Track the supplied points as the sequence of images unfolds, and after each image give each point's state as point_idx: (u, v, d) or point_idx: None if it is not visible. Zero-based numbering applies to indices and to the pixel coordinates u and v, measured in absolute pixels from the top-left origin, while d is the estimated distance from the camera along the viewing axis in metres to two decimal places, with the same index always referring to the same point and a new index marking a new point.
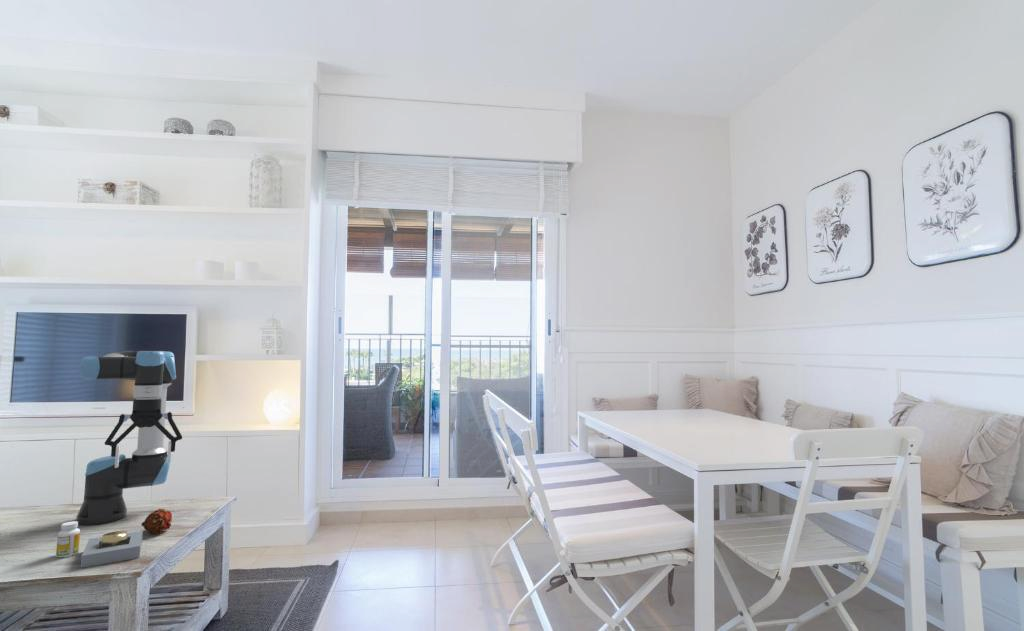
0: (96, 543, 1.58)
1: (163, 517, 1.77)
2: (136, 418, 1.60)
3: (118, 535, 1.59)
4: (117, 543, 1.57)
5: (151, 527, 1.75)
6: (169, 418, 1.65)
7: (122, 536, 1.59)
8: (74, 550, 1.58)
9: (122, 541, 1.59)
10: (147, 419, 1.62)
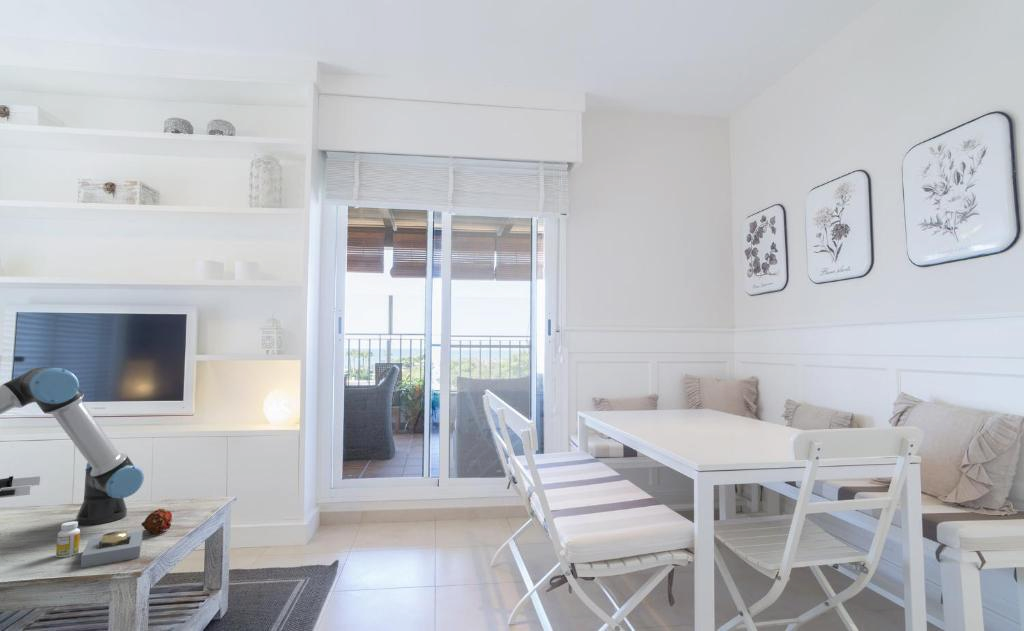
0: (96, 543, 1.58)
1: (163, 517, 1.77)
2: None
3: (118, 535, 1.59)
4: (117, 543, 1.57)
5: (151, 527, 1.75)
6: None
7: (122, 536, 1.59)
8: (74, 550, 1.58)
9: (122, 541, 1.59)
10: None
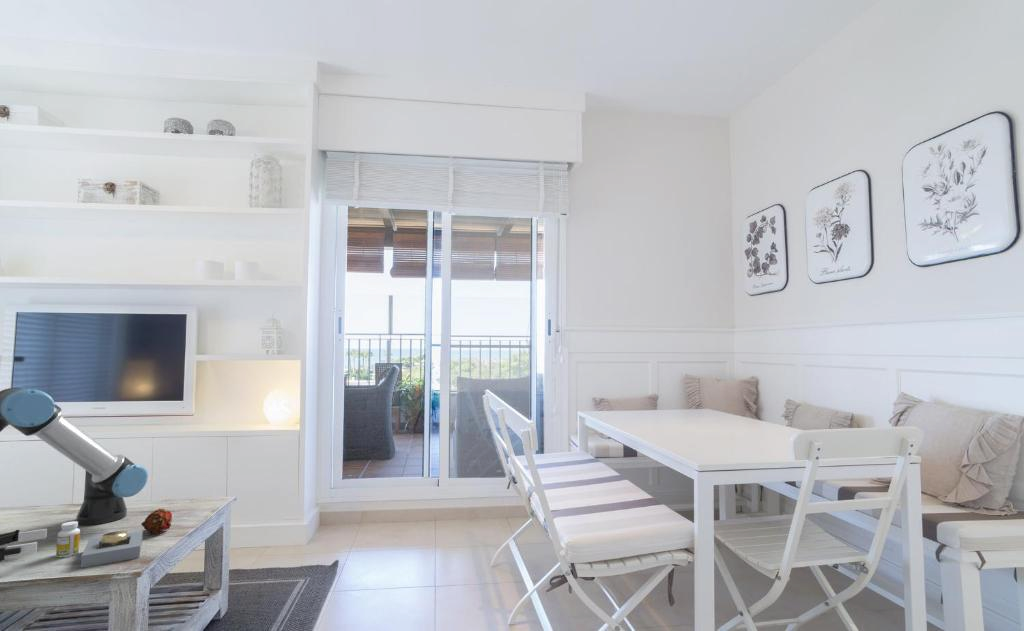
0: (96, 543, 1.58)
1: (163, 517, 1.77)
2: None
3: (118, 535, 1.59)
4: (117, 543, 1.57)
5: (151, 527, 1.75)
6: None
7: (122, 536, 1.59)
8: (74, 550, 1.58)
9: (122, 541, 1.59)
10: None
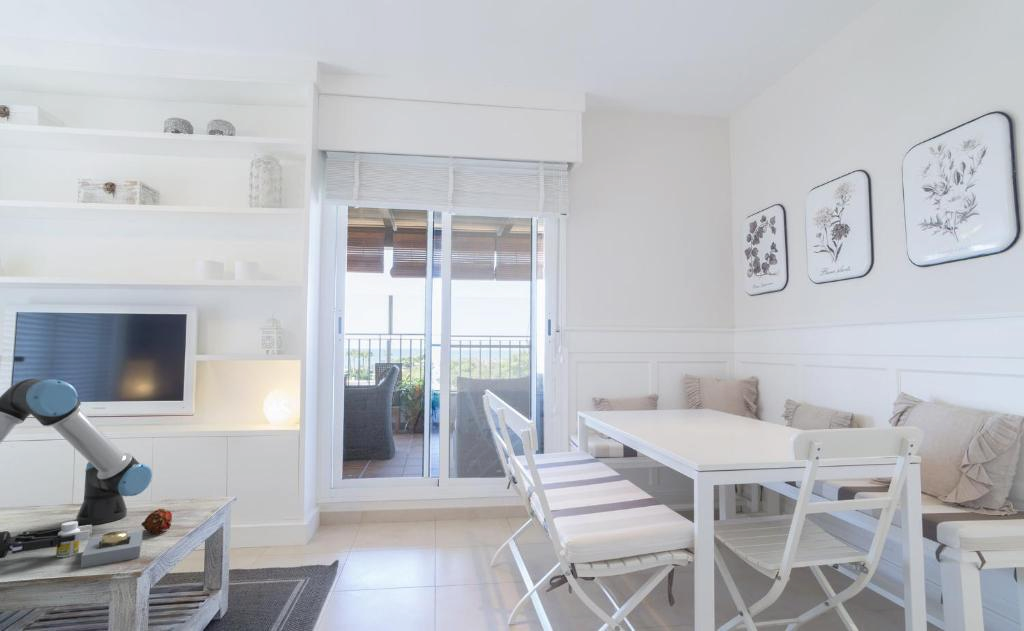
0: (96, 543, 1.58)
1: (163, 517, 1.77)
2: None
3: (118, 535, 1.59)
4: (117, 543, 1.57)
5: (151, 527, 1.75)
6: None
7: (122, 536, 1.59)
8: (74, 550, 1.58)
9: (122, 541, 1.59)
10: None
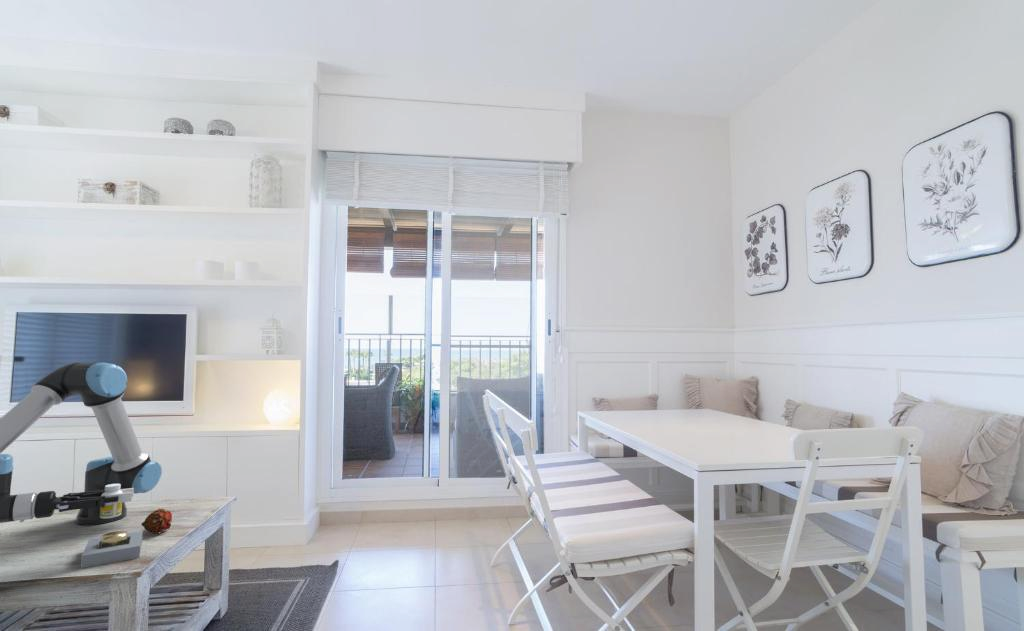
0: (96, 543, 1.58)
1: (163, 517, 1.77)
2: None
3: (118, 535, 1.59)
4: (117, 543, 1.57)
5: (151, 527, 1.75)
6: None
7: (122, 536, 1.59)
8: (117, 511, 1.59)
9: (122, 541, 1.59)
10: None
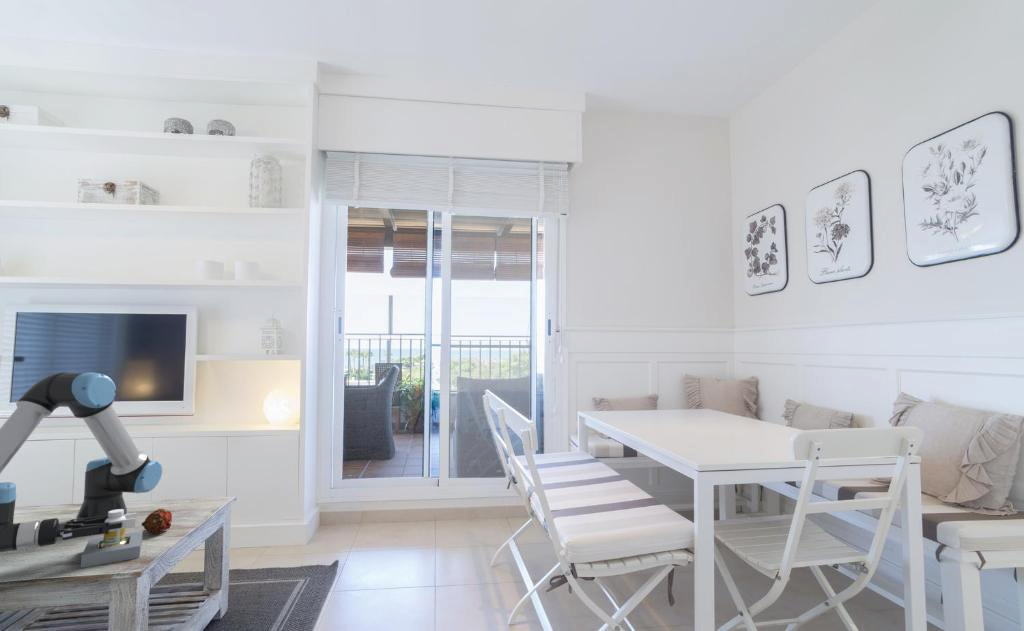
0: (96, 543, 1.58)
1: (163, 517, 1.77)
2: None
3: (117, 543, 1.58)
4: None
5: (151, 527, 1.75)
6: None
7: (121, 544, 1.58)
8: (121, 537, 1.59)
9: None
10: None
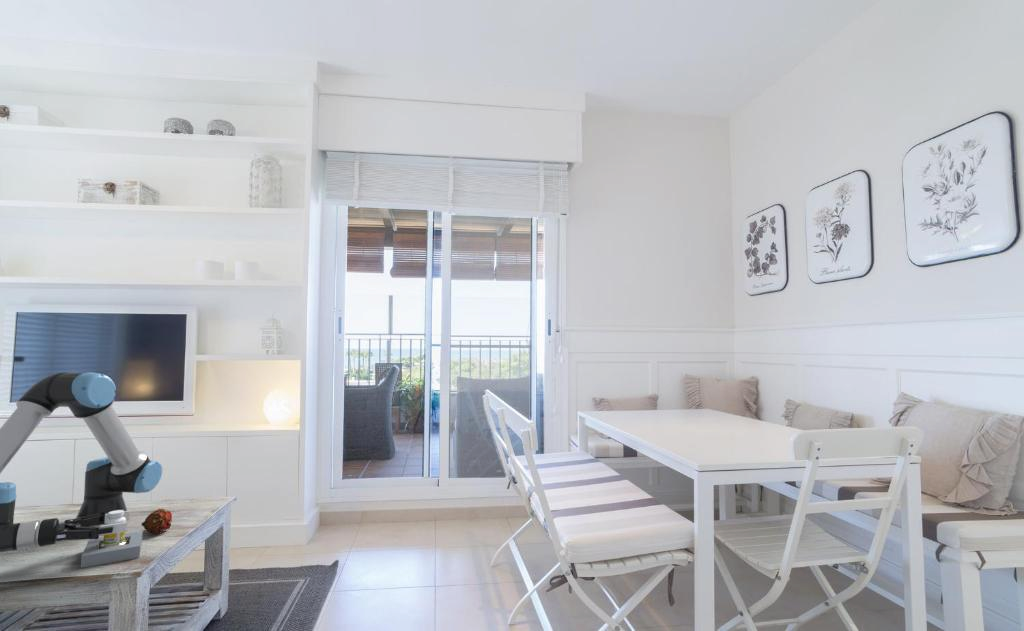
0: (96, 543, 1.58)
1: (163, 517, 1.77)
2: None
3: (117, 544, 1.58)
4: None
5: (151, 527, 1.75)
6: None
7: None
8: (121, 538, 1.59)
9: None
10: None
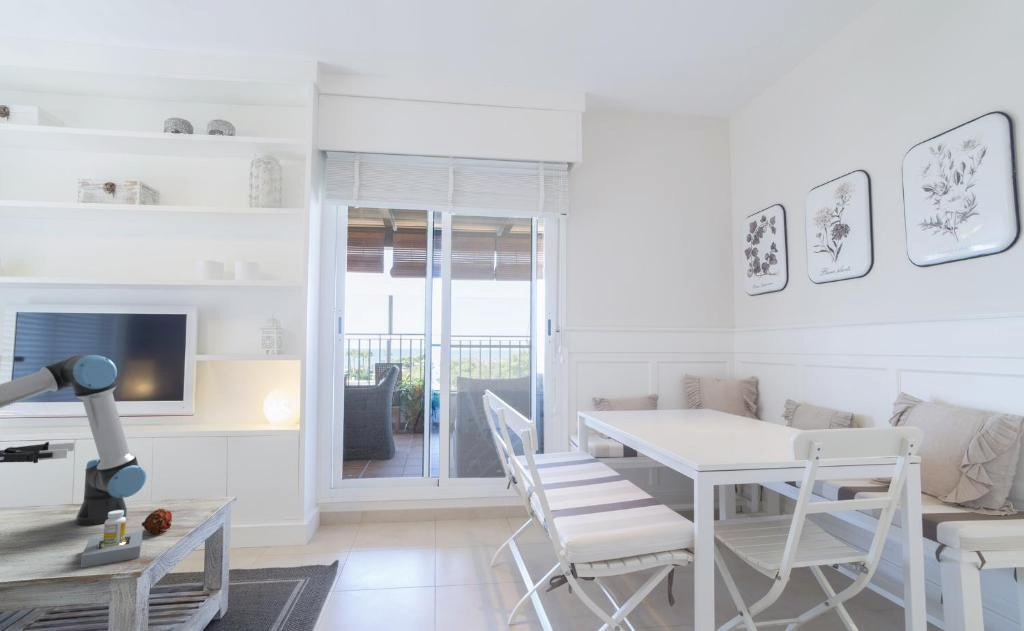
0: (96, 543, 1.58)
1: (163, 517, 1.77)
2: None
3: (117, 544, 1.58)
4: None
5: (151, 527, 1.75)
6: None
7: None
8: (121, 538, 1.59)
9: None
10: None
